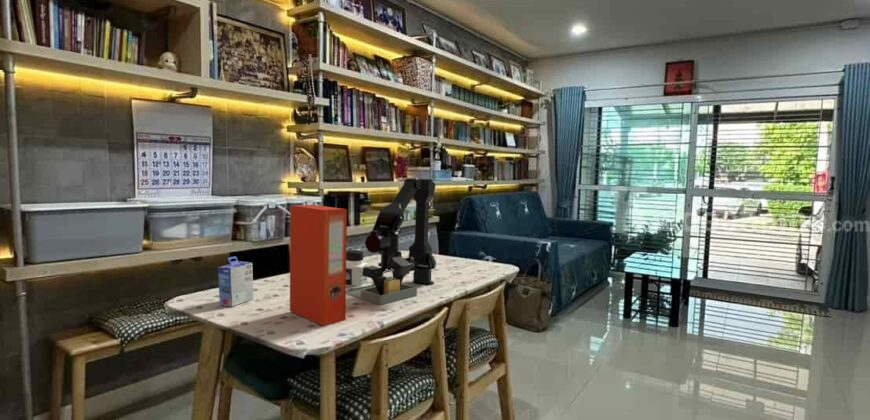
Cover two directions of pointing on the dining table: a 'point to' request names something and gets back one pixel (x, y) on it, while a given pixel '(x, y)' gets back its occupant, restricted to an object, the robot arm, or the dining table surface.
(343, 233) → the file binder
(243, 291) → the ink cartridge box
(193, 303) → the dining table surface
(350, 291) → the lid
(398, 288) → the block
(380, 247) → the robot arm
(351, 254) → the container
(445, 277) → the dining table surface
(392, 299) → the case
